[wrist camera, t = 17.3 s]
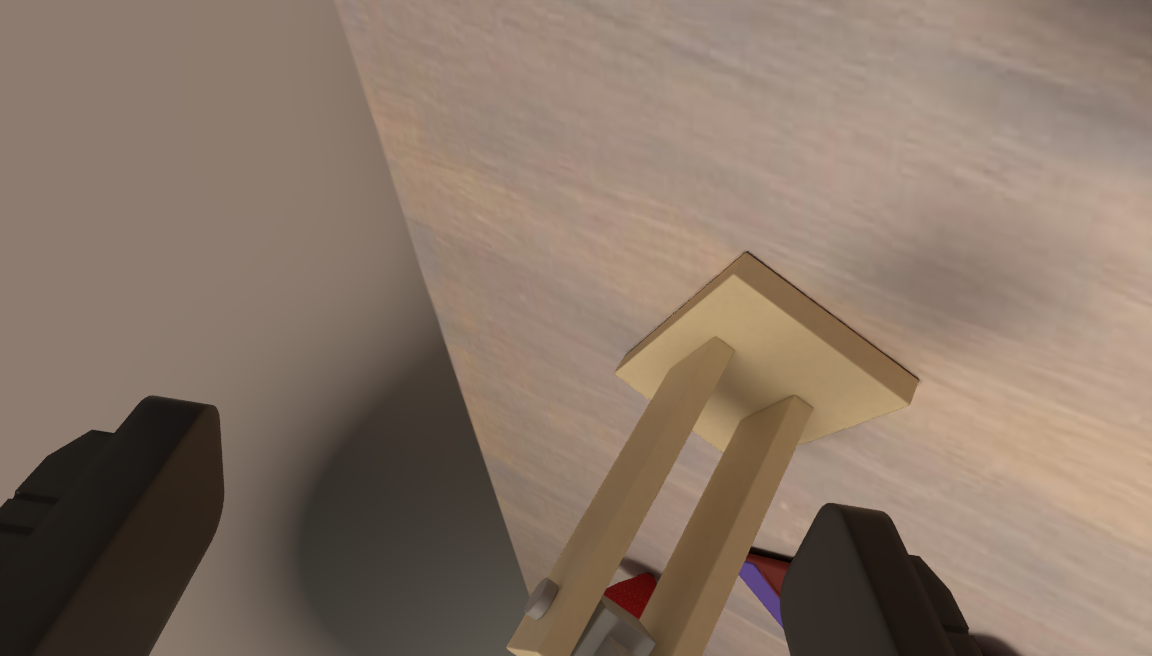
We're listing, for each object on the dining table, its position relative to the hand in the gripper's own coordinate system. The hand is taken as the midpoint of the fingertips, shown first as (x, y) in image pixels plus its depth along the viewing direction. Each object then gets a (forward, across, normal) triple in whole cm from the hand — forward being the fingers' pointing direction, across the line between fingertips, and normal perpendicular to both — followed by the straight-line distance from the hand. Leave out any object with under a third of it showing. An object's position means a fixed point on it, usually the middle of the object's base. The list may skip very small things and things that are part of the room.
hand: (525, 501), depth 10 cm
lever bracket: (+19, +10, -9) cm, 24 cm away
